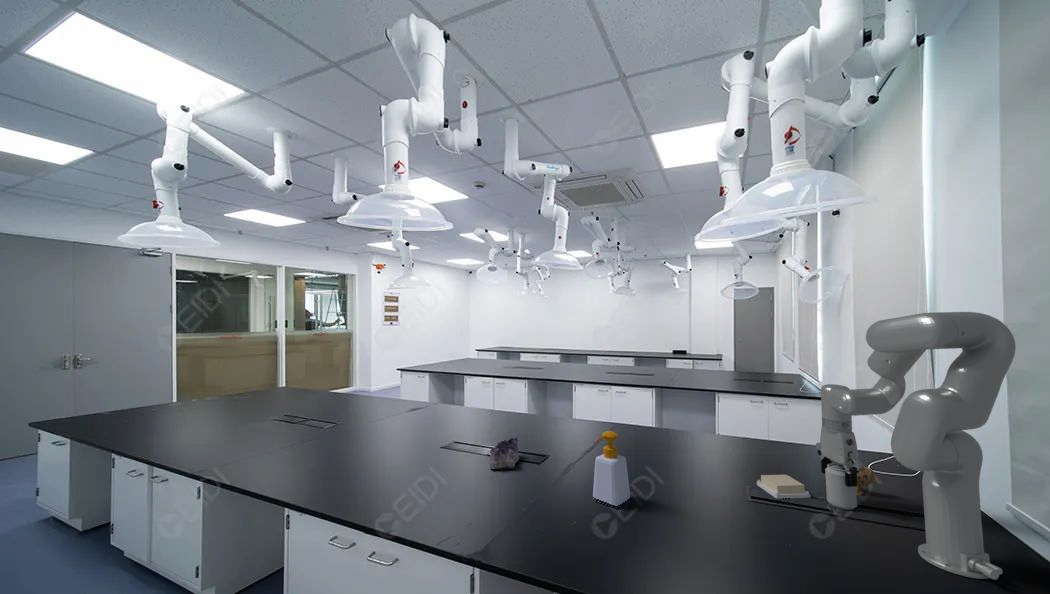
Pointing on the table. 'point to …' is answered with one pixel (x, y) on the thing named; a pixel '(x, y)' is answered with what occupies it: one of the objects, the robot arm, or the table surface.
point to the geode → (504, 454)
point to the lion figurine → (864, 479)
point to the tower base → (782, 486)
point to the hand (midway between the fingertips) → (838, 479)
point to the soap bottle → (611, 474)
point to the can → (839, 488)
